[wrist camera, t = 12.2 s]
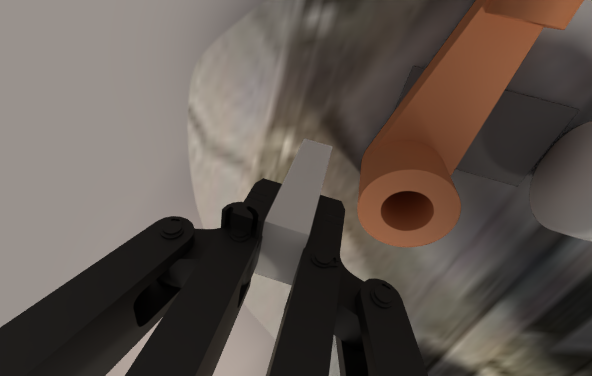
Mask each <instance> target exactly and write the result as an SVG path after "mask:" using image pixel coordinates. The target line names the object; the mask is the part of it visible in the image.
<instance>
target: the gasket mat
mask: <svg viewBox="0 0 592 376" xmlns="http://www.w3.org/2000/svg"><path fill="white" fill-rule="evenodd" d="M424 70H425V69H423V68H419V67H415V66H413V68H412V70H411V73H410V75H409V77H408V80H407V82H406V85H405V87H404V89H403V92H402V94H401V96H400V99H399V101H398V104H397V106H396V108H395V110H396V109H397V107H398V106H399V104H400V103H401V102H402V100H403V99H404V98H405V96H406V95H407V94H408V92H409V91H410V89H411V88H412V87H413V85H414V84H415V83H416V81H417V80H418V78H419V77H420V76H421V74H422V73H423V72H424ZM578 111H579V109H576V108H572V107H568V106H564V105H561V104H557V103H553V102H549V101H545V100H541V99H538V98H534V97H530V96H526V95H522V94H519V93H515V92H511V91H507V90H504V92H503V93H502V95H501V96H500V98H499V100H498V101H497V103H496V104H495V106H494V108H493V109H492V111H491V112H490V114H489V116H488V117H487V119H486V120H485V122H484V124H483V125H482V127H481V128H480V130H479V132H478V133H477V135H476V136H475V138H474V140H473V141H472V143H471V144H470V146H469V148H468V149H467V151H466V152H465V154H464V156H463V157H462V159H461V160H460V162H459V164H458V165H457V167H456V168H455V169H458V170H461V171H465V172H468V173H472V174H475V175H479V176H482V177H486V178H489V179H493V180H496V181H500V182H503V183H507V184H510V185H514V186H518V185H519V184H520V183H521V181H522V180H523V179H524V178H525V177H526V175H527V174H528V173H529V172H530V170H531V169H532V168H533V167H534V165H535V164H536V163H537V162H538V161H539V159H540V158H541V157H542V156H543V154H544V153H545V152H546V151H547V149H548V148H549V147H550V146H551V145H552V143H553V142H554V141H555V140H556V138H557V137H558V136H559V135H560V133H561V132H562V131H563V130H564V129H565V127H566V126H567V125H568V124H569V122H570V121H571V120H572V119H573V117H574V116H575V115H576V114H577V113H578Z"/></svg>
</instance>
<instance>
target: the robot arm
mask: <svg viewBox="0 0 592 376" xmlns="http://www.w3.org/2000/svg"><path fill="white" fill-rule="evenodd" d="M331 151H332V146H329V145H325V144H322V143H319V142H315V141H312V140H308V139H305V138H304V140H303V142H302V144H301V146H300V148H299V150H298V152H297V154H296V157H295V159H294V161H293V163H292V165H291V167H290V169H289V171H288V173H287V175H286V177H285V180H284V182H283V184H280V183H277V182H274V181H271V180H267V179H264V178H263V179H262V180H260V181H258V182H257V183H255V184H254V186H253V188H252V189H251V191H250V192H249V194H248V196H247V198H246V199H245V200H244V202H234V203H231V204H229V205H226V206H225V207H224V208H223V209H222V219H221V228H217V229H194V226H193V224H192V223H191V222H190V221H189V220H188V219H186V218H182V217H176V216H171V217H166V218H163V219H161V220H159V221H157V222H155V223H154V224H152V225H151V226H149V227H148V228H146V229H145V230H144V231H142V232H140V233H139V234H137V235H136V236H134V237H133V238H132V239H130V240H129V241H127V242H126V243H124V244H123V245H121V246H120V247H118V248H117V249H115V250H114V251H112V252H111V253H109V254H108V255H107V256H105V257H104V258H102V259H101V260H99V261H98V262H96V263H95V264H93V265H92V266H90V267H89V268H88V269H86V270H84V271H83V272H81V273H80V274H79V275H77V276H76V277H74V278H73V279H71V280H70V281H68V282H67V283H65V284H64V285H62V286H61V287H59V288H58V289H56V290H55V291H54V292H52V293H51V294H49V295H48V296H46V297H45V298H43V299H42V300H40V301H39V302H37V303H36V304H34V305H33V306H31V307H30V308H28V309H27V310H26V311H24V312H23V313H21V314H20V315H18V316H17V317H15V318H14V319H12V320H11V321H9V322H8V323H6V324H5V325H3V326H2V327H1V328H0V376H105V375H106V374H107V373H108V372H109V371H110V370H111V369H112V368H113V367H114V366H115V365H116V364H117V363H118V362H119V361H120V360H121V359H122V358H123V357H124V356H125V355H126V354H127V353H128V352H129V351H130V350H131V349H132V347H134V346H135V345H136V344H137V343H138V341H140V340H141V339H142V338H143V336H145V334H146V333H147V332H148V331H149V330H150V329H151V328H152V327H153V326H154V325H155V324H156V323H157V322H158V321H159V320H160V319H161V318H162V317H163V318H162V319H161V321H160V322H159V324H158V326H157V327H156V328H155V330H154V332H153V333H152V335H151V336H150V338H149V339H148V341H147V342H146V344H145V345H144V347H143V348H142V350H141V352H140V353H139V355H138V356H137V358H136V359H135V361H134V363H133V364H132V365H131V367H130V369H129V370H128V372H127V373H126V375H125V376H212V375H213V373H214V370H215V368H216V365H217V363H218V361H219V358H220V356H221V354H222V351H223V349H224V346H225V344H226V342H227V339H228V337H229V335H230V332H231V330H232V327H233V325H234V322H235V320H236V318H237V315H238V313H239V311H240V308H241V306H242V304H243V301H244V299H245V296H246V294H247V292H248V289H249V287H250V282H251V277H252V275H253V273H254V270H255V273H256V274H259V275H262V276H265V277H268V278H271V279H274V280H277V281H280V282H283V283H286V284H289V285H292V287H291V290H290V293H289V296H288V299H287V302H286V306H285V309H284V314H283V317H282V321H281V324H280V328H279V331H278V335H277V339H276V342H275V346H274V349H273V353H272V357H271V360H270V363H269V367H268V371H267V374H266V376H329V369H330V360H331V352H332V343H333V335H335V336H336V344H337V352H338V360H339V368H340V376H428V374H427V371H426V368H425V365H424V363H423V360H422V357H421V354H420V351H419V348H418V345H417V342H416V339H415V336H414V333H413V330H412V327H411V324H410V322H409V319H408V316H407V313H406V310H405V307H404V304H403V301H402V299H401V297H400V295H399V293H398V291H397V290H396V289H395V288H394V287H393V286H392V285H390V284H389V283H387V282H385V281H383V280H380V279H368V280H366V281H365V282H364V281H362V280H361V279H359V278H358V277H356V276H354V275H353V274H352V273H350V272H349V271H348V270H347V269H346V268H345V267H344V265H343V263H342V262H341V258H340V247H341V240H342V232H343V224H344V216H345V208H344V206H343V204H342V201H339V200H336V199H332V198H329V197H326V196H323V195H320V193H321V189H322V185H323V181H324V178H325V174H326V170H327V166H328V162H329V159H330V155H331Z"/></svg>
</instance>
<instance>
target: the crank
mask: <svg viewBox="0 0 592 376" xmlns="http://www.w3.org/2000/svg"><path fill="white" fill-rule="evenodd" d="M583 1H584V0H476V1H475V2H474V3H473V5H472V6H471V8H470V9H469V10H468V12H467V13H466V14H465V16H464V17H463V18H462V20H461V21H460V23H459V24H458V25H457V27H456V28H455V29H454V31H453V32H452V33H451V35H450V36H449V38H448V39H447V40H446V42H445V43H444V44H443V46H442V47H441V48H440V50H439V51H438V53H437V54H436V55H435V57H434V58H433V59H432V61H431V62H430V63H429V65H428V66H427V68H426V69H425V70H424V72H423V73H422V74H421V76H420V77H419V78H418V80H417V81H416V83H415V84H414V85H413V87H412V88H411V89H410V91H409V92H408V94H407V95H406V96H405V98H404V99H403V100H402V102H401V103H400V104H399V106H398V107H397V109H396V110H395V111H394V113H393V114H392V115H391V117H390V118H389V119H388V121H387V122H386V124H385V125H384V126H383V128H382V129H381V130H380V132H379V133H378V134H377V136H376V137H375V139H374V140H373V141H372V143H371V144H370V145H369V147H368V148H367V149H366V151H365V153H364V155H363V158H362V162H361V173H360V185H359V197H358V209H357V210H358V217H359V220H360V222H361V224H362V226H363V227H364V229H365V230H366V231H367V232H368V233H369V234H370V235H371V236H373V237H374V238H375V239H377V240H379V241H381V242H383V243H386V244H389V245H393V246H398V247H417V246H423V245H427V244H430V243H432V242H435V241H437V240H439V239H441V238H442V237H444V236H445V235H446V234H448V233H449V232H450V231H451V230H452V229H453V227H454V226H455V225H456V223H457V221H458V219H459V216H460V212H461V203H460V198H459V196H458V193H457V191H456V188H455V186H454V184H453V181H452V179H451V177H450V176H451V175H452V173H453V172H454V170H455V168H456V167H457V165H458V164H459V162H460V160H461V159H462V157H463V156H464V154H465V152H466V151H467V149H468V148H469V146H470V144H471V143H472V141H473V140H474V138H475V136H476V135H477V133H478V132H479V130H480V128H481V127H482V125H483V124H484V122H485V120H486V119H487V117H488V116H489V114H490V112H491V111H492V109H493V108H494V106H495V104H496V103H497V101H498V100H499V98H500V96H501V95H502V93H503V92H504V90H505V88H506V87H507V85H508V84H509V82H510V80H511V79H512V77H513V76H514V74H515V72H516V71H517V69H518V68H519V66H520V64H521V63H522V61H523V60H524V58H525V56H526V55H527V53H528V52H529V50H530V48H531V47H532V45H533V44H534V42H535V40H536V39H537V37H538V36H539V34H540V32H541V31H542V29H543V28H544V27H547V28H554V29H560V30H564V29H565V28H566V26H567V25H568V23H569V22H570V20H571V19H572V17H573V16H574V14H575V13H576V11H577V10H578V8H579V7H580V5H581V4H582V2H583Z"/></svg>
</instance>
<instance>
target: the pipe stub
mask: <svg viewBox="0 0 592 376" xmlns="http://www.w3.org/2000/svg"><path fill="white" fill-rule="evenodd" d="M529 200H530V206H531V210H532V212H533V215H534V216H535V218H536V219H537V220H538V222H539V223H540V224H542V225H543V226H544V227H546V228H548V229H550V230H553V231H556V232H559V233H562V234H566V235H569V236H573V237H576V238H579V239H583V240H586V241H591V242H592V121H590V122H587V123H584V124H582V125H580V126H578V127H576V128H574V129H573V130H571V131H569V132H568V133H566V134H565V135H564V136H562V137H561V138H560V139H559V140H558V141H557V142H556V143H555V144H554V145H552V147H551V148H550V149H549V150H548V151H547V152H546V154H545V155H544V156H543V158H542V159H541V161H540V163H539V164H538V166H537V168H536V170H535V173H534V175H533V178H532V181H531V186H530V193H529Z"/></svg>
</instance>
